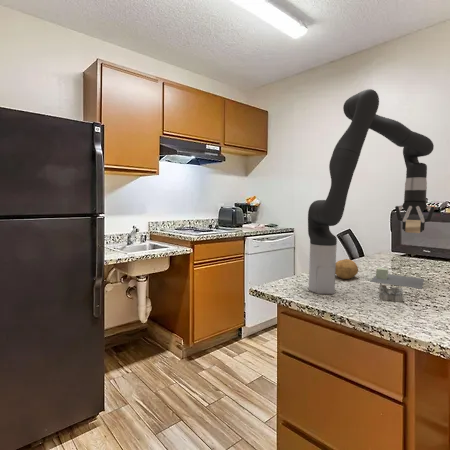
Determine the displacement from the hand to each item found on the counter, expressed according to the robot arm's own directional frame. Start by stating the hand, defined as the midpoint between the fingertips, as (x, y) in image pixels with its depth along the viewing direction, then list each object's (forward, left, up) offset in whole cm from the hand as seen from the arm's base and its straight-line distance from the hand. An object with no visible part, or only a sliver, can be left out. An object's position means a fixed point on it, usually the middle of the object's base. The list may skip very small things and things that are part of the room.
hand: (413, 231), depth 125 cm
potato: (+6, +25, -22) cm, 33 cm away
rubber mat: (+3, +4, -21) cm, 22 cm away
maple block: (0, 0, 0) cm, 0 cm away
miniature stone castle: (-20, +19, -22) cm, 35 cm away
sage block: (+6, +9, -21) cm, 23 cm away
